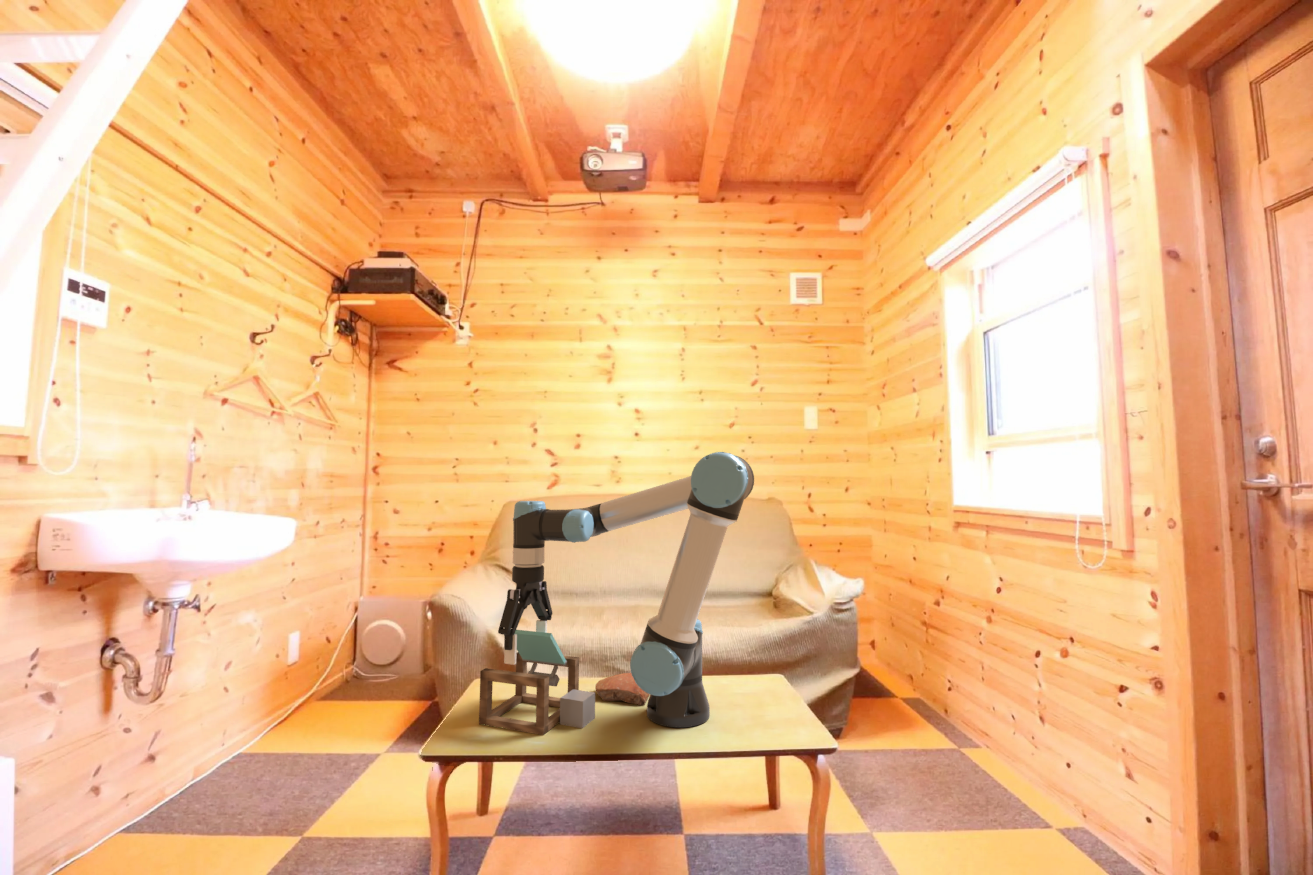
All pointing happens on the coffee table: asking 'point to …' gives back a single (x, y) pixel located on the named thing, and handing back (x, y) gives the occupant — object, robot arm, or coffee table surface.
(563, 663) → the trapdoor
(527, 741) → the coffee table surface
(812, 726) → the coffee table surface
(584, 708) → the gray cube
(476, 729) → the coffee table surface
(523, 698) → the frame
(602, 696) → the ceramic shard
